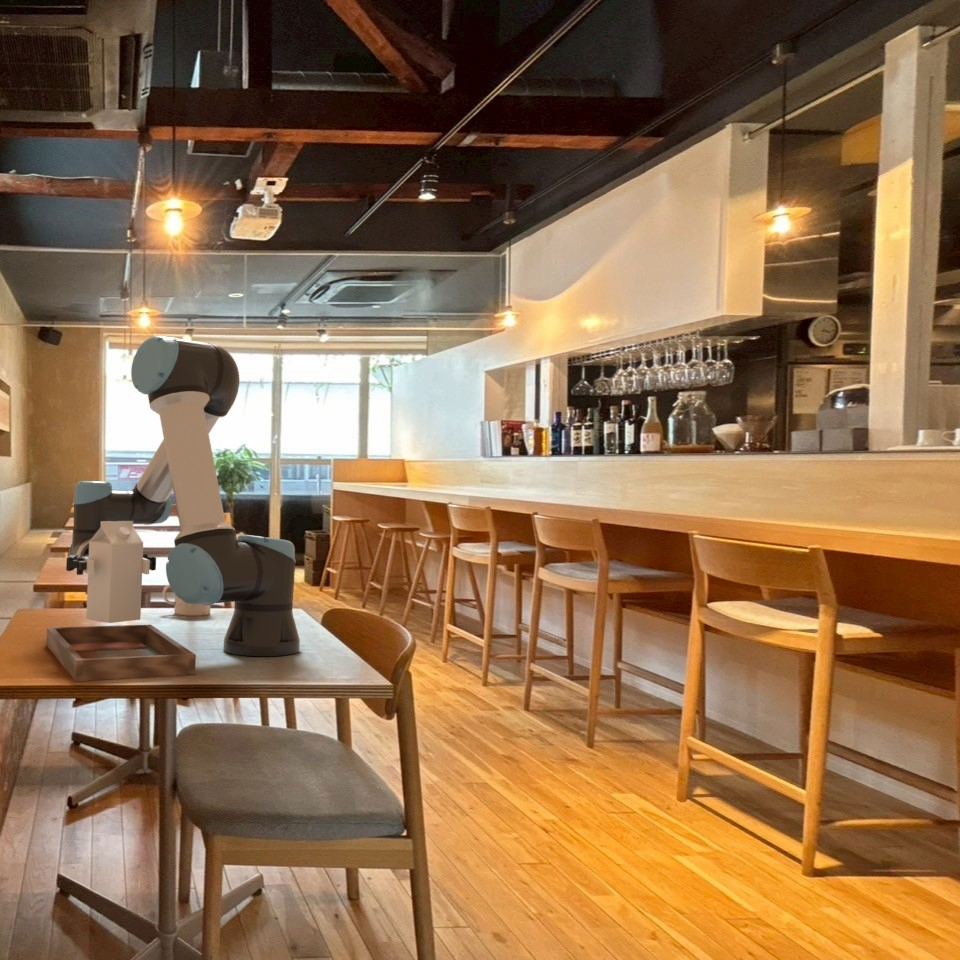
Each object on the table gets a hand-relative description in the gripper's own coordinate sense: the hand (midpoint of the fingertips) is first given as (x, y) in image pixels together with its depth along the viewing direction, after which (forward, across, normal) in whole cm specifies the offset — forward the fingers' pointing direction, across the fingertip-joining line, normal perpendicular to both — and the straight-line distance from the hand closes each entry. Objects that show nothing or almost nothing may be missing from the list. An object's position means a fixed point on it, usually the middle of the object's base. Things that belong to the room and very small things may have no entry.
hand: (120, 567), depth 193 cm
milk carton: (-4, 0, -11) cm, 12 cm away
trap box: (0, 0, -17) cm, 17 cm away
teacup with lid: (-55, -27, -17) cm, 64 cm away
